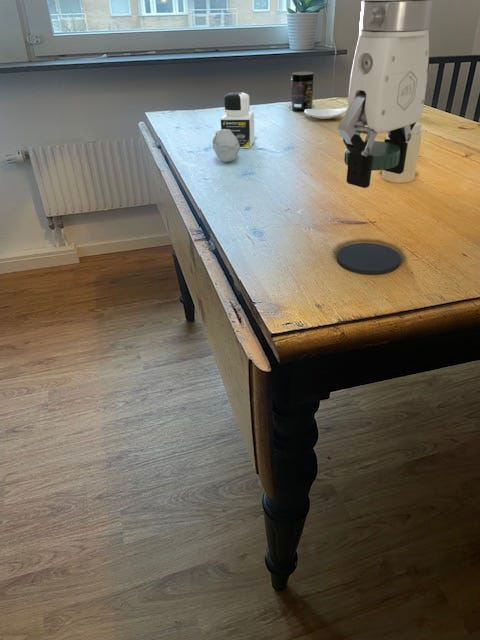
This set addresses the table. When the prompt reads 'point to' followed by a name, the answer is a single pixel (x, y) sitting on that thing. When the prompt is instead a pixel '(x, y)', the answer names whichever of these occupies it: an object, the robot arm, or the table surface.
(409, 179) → the jar
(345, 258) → the coaster
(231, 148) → the grey rock
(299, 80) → the supplement container
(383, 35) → the robot arm
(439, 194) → the table surface
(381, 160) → the jar lid
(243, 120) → the medicine bottle
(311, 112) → the spoon
